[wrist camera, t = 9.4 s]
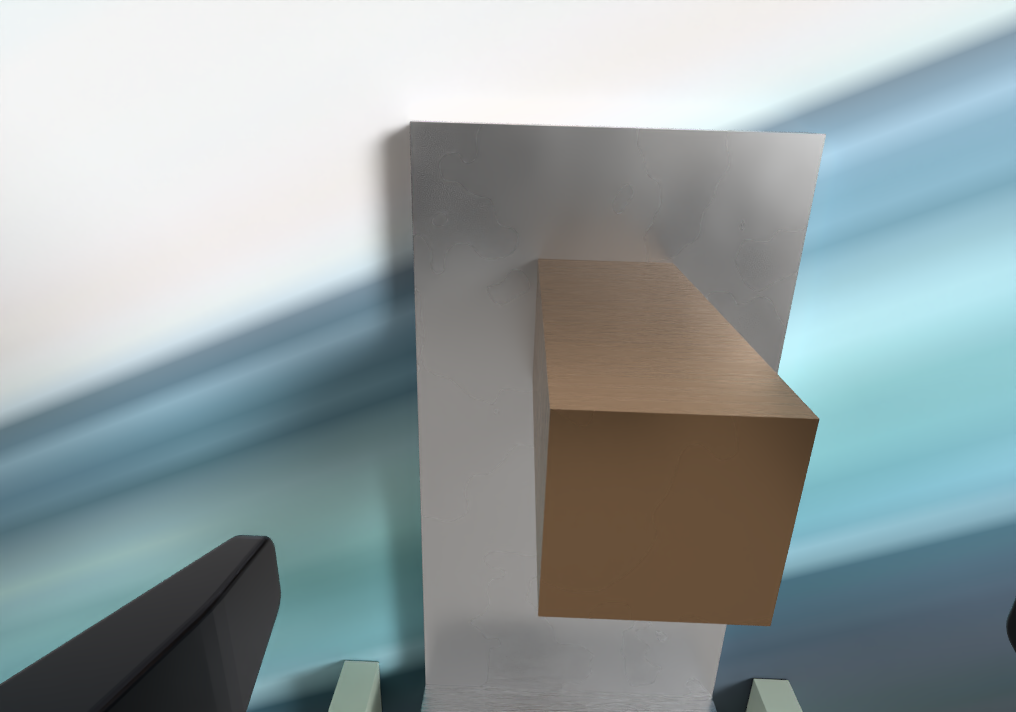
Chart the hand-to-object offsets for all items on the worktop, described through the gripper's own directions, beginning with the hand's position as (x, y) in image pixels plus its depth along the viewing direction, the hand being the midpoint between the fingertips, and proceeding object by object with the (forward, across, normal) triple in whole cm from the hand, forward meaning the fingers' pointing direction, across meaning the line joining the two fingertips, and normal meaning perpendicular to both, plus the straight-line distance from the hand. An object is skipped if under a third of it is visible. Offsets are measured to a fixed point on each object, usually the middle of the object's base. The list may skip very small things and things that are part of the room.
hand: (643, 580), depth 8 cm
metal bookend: (+8, 0, +3) cm, 8 cm away
